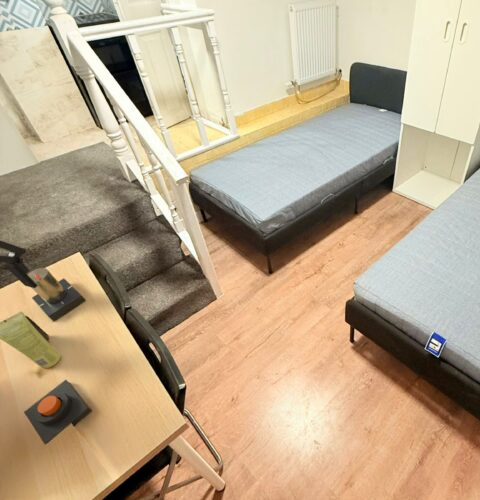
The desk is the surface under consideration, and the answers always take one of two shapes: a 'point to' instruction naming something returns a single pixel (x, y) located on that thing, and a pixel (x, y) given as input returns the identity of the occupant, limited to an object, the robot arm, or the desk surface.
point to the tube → (28, 340)
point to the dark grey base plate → (58, 412)
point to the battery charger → (38, 329)
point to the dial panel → (61, 302)
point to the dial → (47, 286)
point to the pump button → (49, 405)
